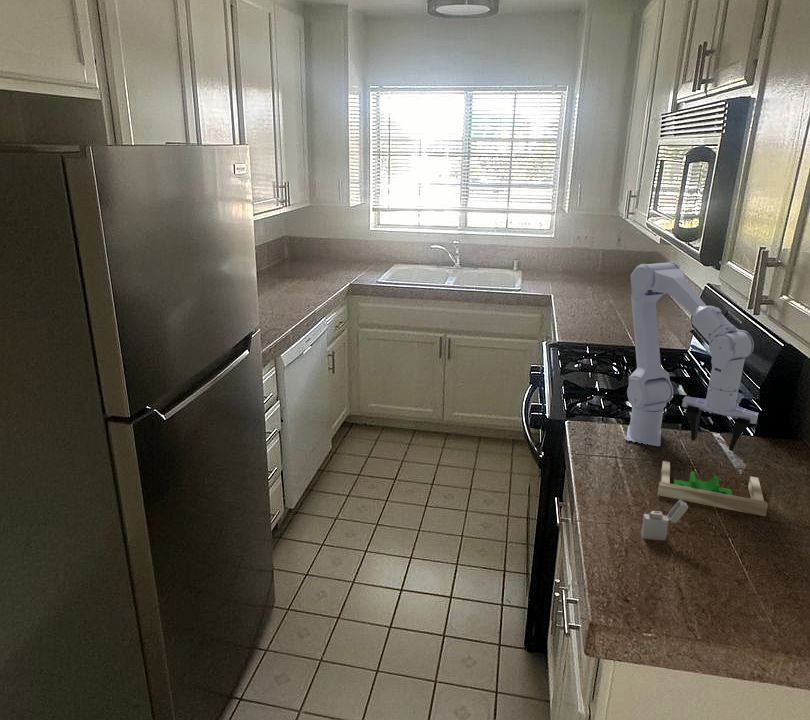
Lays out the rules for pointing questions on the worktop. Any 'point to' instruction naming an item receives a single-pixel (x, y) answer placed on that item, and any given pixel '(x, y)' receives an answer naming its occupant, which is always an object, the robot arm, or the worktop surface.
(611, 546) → the worktop surface
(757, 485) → the frame
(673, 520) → the lighter
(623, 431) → the worktop surface
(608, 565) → the worktop surface
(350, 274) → the worktop surface
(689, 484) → the pipe clamp
